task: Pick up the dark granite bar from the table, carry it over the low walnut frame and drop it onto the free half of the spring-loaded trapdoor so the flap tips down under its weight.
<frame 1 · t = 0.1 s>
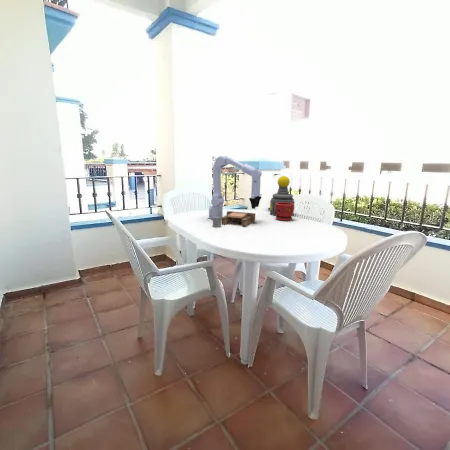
hand: (255, 207, 186), 10 cm above the table, tool pointing down, fingers open, 7 cm apart
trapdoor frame: (237, 223, 185), on the table
decorative lamp: (281, 214, 216), on the table
trapdoor: (237, 215, 184), point 5 cm above the table, hinge at 0.0°
plant pot: (283, 219, 198), on the table
stone: (216, 226, 176), on the table
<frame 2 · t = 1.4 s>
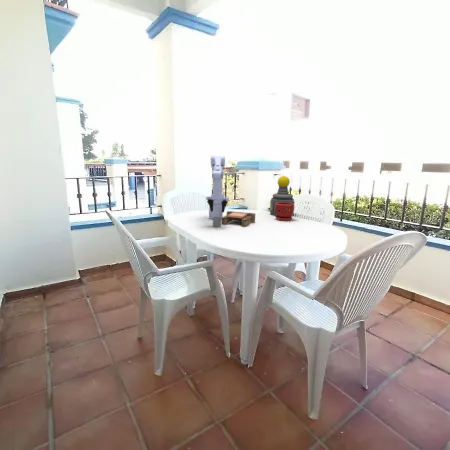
hand: (217, 211, 174), 9 cm above the table, tool pointing down, fingers open, 7 cm apart
nothing on the table moved.
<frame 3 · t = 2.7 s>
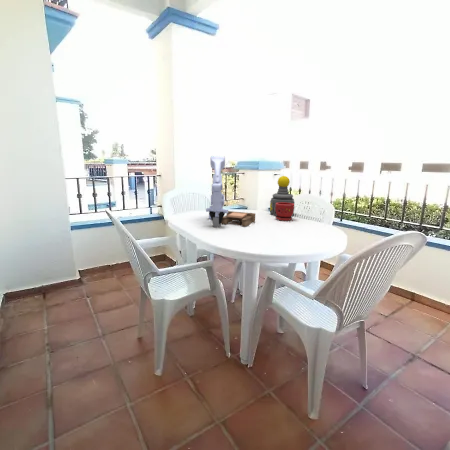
hand: (216, 223, 175), 2 cm above the table, tool pointing down, fingers closed on stone, 4 cm apart
stone: (216, 226, 176), on the table, touching gripper
everything else where it was.
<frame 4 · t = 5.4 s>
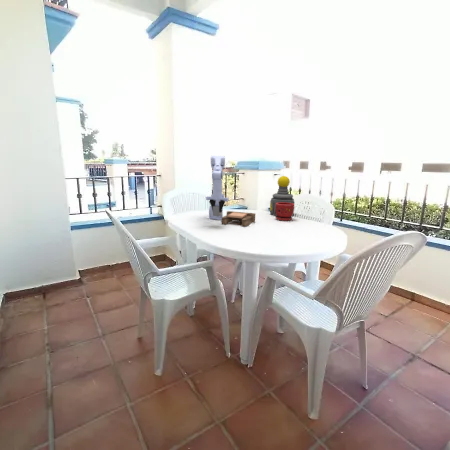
hand: (217, 211, 174), 9 cm above the table, tool pointing down, fingers closed on stone, 4 cm apart
stone: (217, 215, 174), point 7 cm above the table, touching gripper
everything else where it was.
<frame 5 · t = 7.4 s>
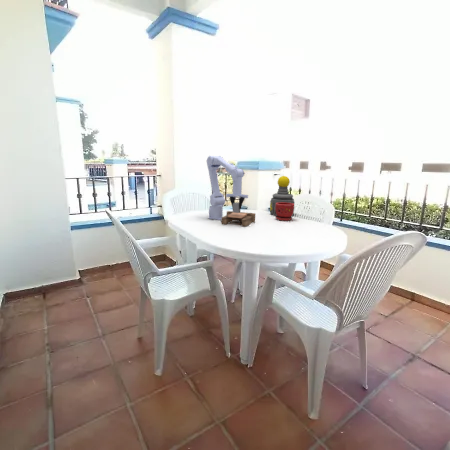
hand: (236, 208, 181), 10 cm above the table, tool pointing down, fingers closed on stone, 4 cm apart
stone: (236, 212, 181), point 8 cm above the table, touching gripper
everything else where it was.
when the fingers open (10 cm above the table, at t = 8.0 s): stone drops 4 cm, resting on trapdoor.
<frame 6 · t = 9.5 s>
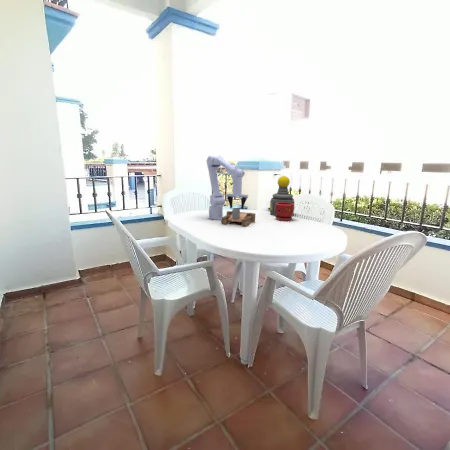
hand: (236, 208, 181), 10 cm above the table, tool pointing down, fingers open, 7 cm apart
trapdoor: (237, 217, 185), point 4 cm above the table, hinge at -15.9°, touching stone
stone: (236, 217, 182), point 4 cm above the table, tilted 16°, touching trapdoor
everything else where it was.
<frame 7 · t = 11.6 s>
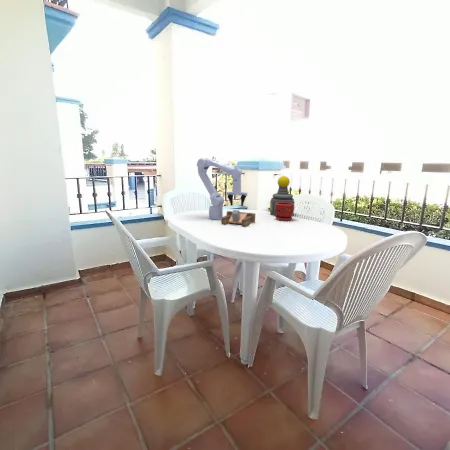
hand: (236, 205, 191), 10 cm above the table, tool pointing down, fingers open, 7 cm apart
trapdoor: (237, 218, 185), point 3 cm above the table, hinge at -24.6°, touching stone, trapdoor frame
stone: (236, 219, 183), point 3 cm above the table, tilted 25°, touching trapdoor
everything else where it was.
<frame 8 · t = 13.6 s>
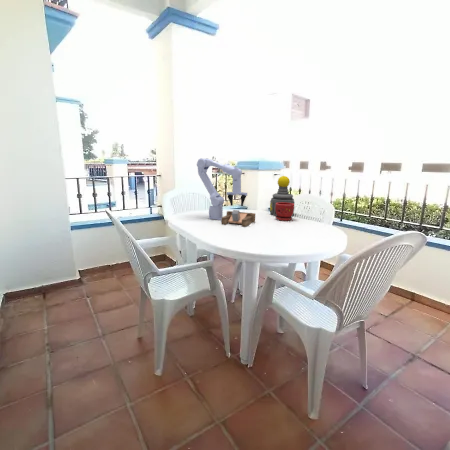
hand: (236, 205, 191), 10 cm above the table, tool pointing down, fingers open, 7 cm apart
nothing on the table moved.
at the end: stone point 3.0 cm above the table; trapdoor at -25° (first picture: +0°); stone inside the target area (0.9 cm from its centre), point 3.0 cm above the table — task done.
